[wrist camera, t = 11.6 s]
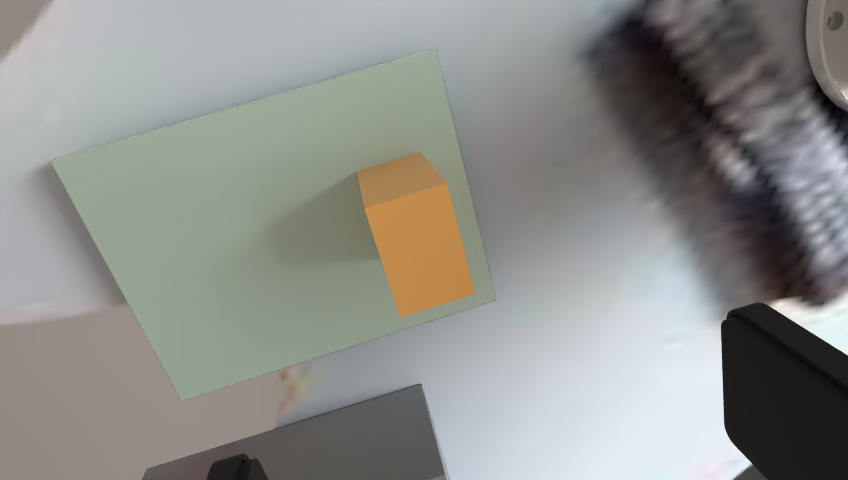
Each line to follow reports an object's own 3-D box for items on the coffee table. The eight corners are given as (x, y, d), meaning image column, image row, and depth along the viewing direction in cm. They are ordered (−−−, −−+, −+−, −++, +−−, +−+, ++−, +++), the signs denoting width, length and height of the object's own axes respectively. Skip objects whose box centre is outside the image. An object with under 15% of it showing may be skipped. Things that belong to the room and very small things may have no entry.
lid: (427, 49, 25) (469, 50, 17) (484, 282, 29) (538, 364, 22) (74, 151, 24) (-48, 201, 16) (192, 375, 28) (141, 496, 21)
